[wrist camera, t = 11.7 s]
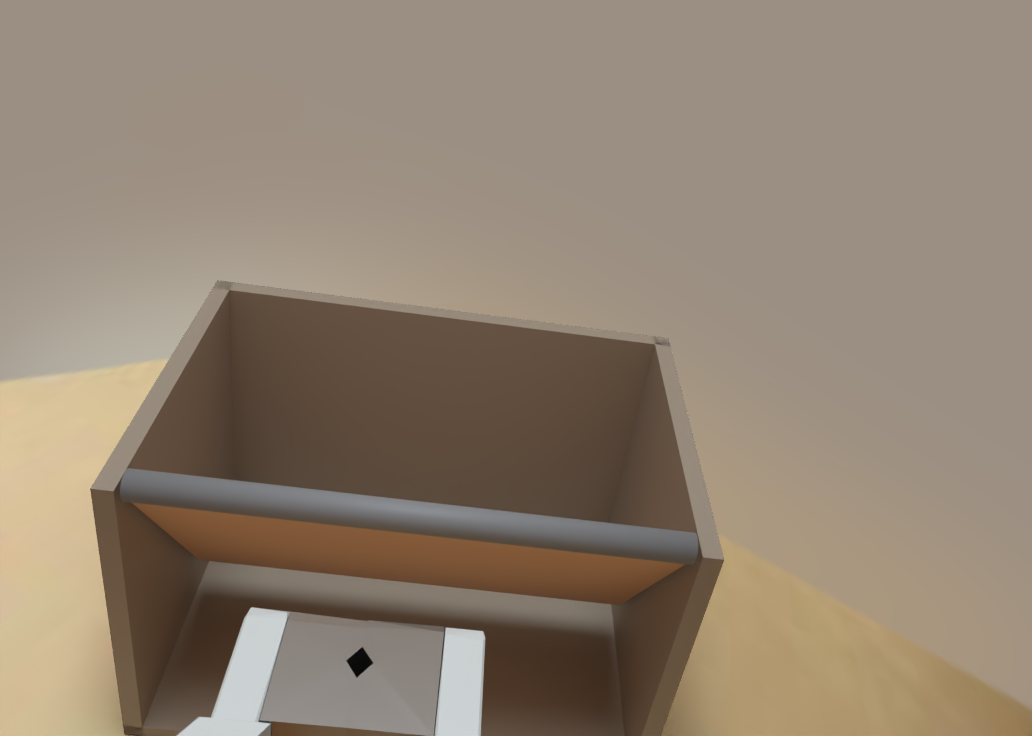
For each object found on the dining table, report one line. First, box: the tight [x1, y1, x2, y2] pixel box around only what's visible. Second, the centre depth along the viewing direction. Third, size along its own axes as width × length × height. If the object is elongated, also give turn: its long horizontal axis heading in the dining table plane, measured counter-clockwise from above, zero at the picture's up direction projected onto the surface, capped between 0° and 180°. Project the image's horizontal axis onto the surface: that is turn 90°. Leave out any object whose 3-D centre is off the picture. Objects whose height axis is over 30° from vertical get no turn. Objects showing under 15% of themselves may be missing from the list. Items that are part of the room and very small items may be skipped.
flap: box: [120, 468, 698, 605], centre depth 40 cm, size 21×1×14 cm
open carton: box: [90, 281, 724, 736], centre depth 44 cm, size 23×16×14 cm
